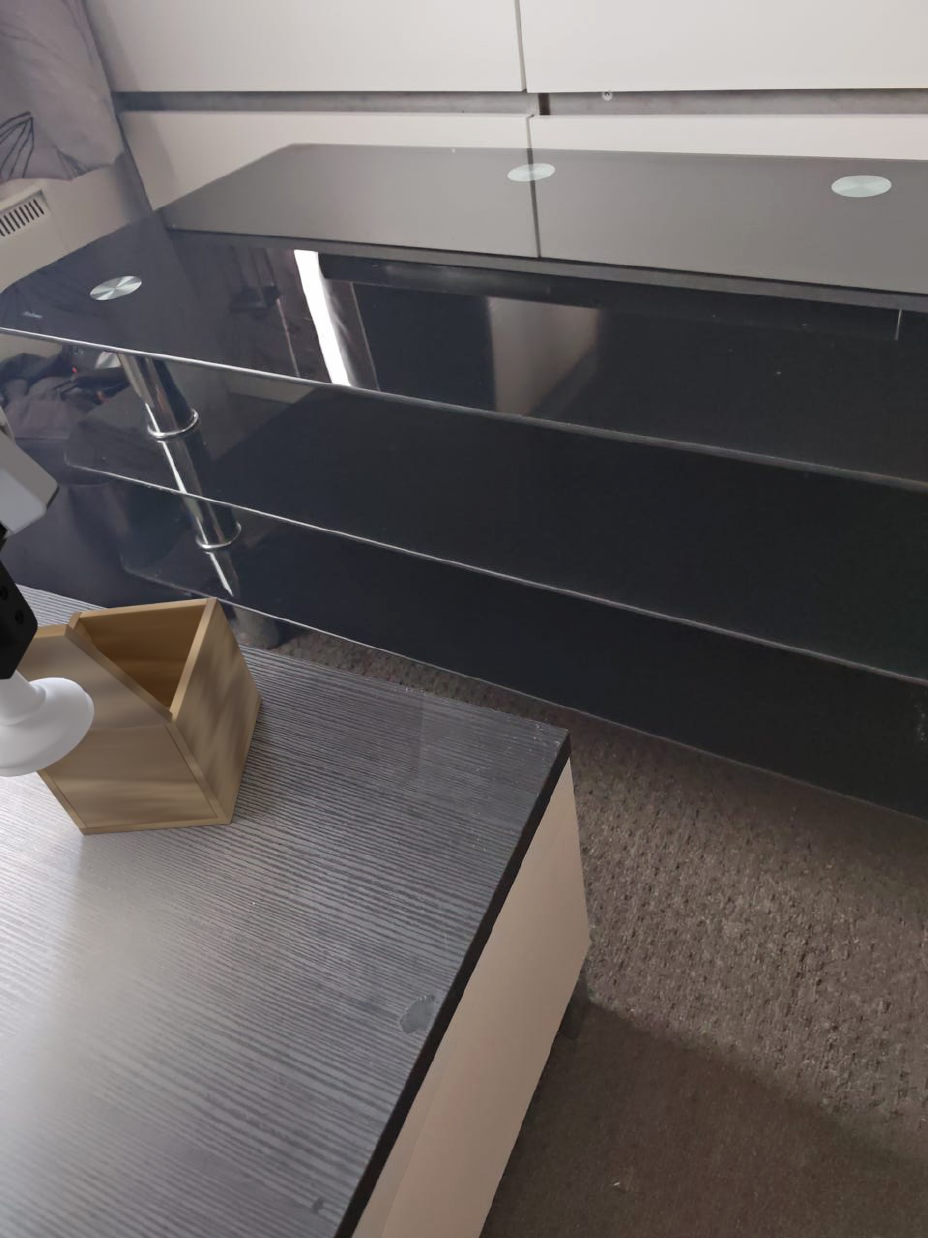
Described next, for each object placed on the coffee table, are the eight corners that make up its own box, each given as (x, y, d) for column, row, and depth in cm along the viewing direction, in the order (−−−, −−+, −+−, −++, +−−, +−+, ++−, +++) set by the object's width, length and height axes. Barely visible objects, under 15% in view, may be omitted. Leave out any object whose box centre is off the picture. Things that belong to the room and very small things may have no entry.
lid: (-134, 643, 54) (-138, 655, 54) (66, 622, 52) (64, 635, 52) (8, 728, 66) (5, 738, 66) (173, 713, 65) (172, 723, 64)
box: (131, 710, 85) (73, 612, 77) (262, 698, 83) (217, 596, 75) (82, 834, 75) (10, 737, 66) (230, 824, 73) (175, 722, 65)
